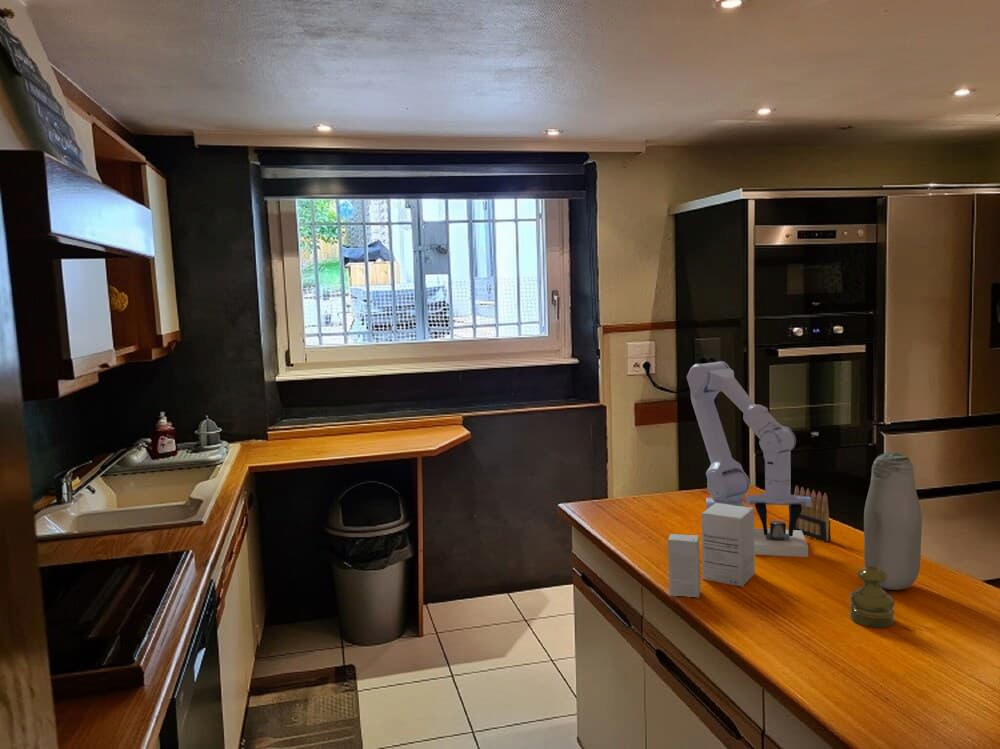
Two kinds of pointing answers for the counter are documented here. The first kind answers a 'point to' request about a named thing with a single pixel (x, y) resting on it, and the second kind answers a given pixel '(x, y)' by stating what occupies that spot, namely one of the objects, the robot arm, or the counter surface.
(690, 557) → the skincare box
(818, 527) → the ammunition clip
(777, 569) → the counter surface
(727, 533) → the supplement box
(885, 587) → the grey bottle
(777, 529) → the metal peg
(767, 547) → the socket block
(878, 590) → the olive green knobbed piece
